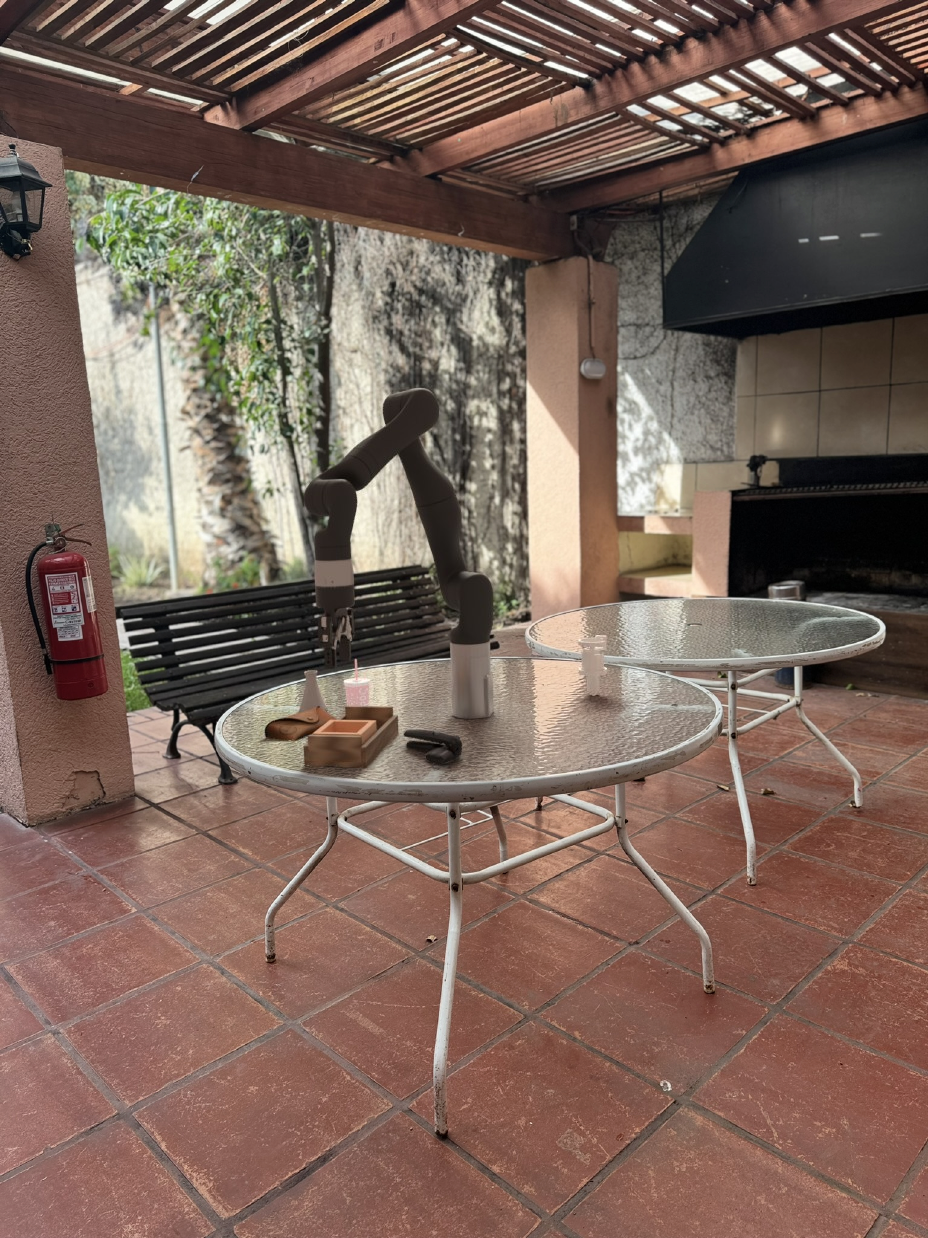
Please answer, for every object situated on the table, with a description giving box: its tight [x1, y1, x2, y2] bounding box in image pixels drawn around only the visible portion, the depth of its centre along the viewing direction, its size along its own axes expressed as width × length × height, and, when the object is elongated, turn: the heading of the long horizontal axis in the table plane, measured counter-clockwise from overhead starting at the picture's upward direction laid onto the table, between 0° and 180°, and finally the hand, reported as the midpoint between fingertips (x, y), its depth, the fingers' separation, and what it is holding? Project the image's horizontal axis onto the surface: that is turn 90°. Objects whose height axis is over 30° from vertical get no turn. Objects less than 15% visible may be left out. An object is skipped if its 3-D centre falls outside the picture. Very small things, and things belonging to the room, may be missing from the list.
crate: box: [312, 720, 377, 745], centre depth 178 cm, size 10×10×5 cm
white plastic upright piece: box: [577, 634, 608, 692], centre depth 222 cm, size 7×7×15 cm
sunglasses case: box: [264, 706, 338, 742], centre depth 200 cm, size 18×7×7 cm
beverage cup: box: [343, 658, 371, 706], centre depth 207 cm, size 6×6×14 cm
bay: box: [303, 705, 399, 769], centre depth 183 cm, size 12×24×6 cm, turn 169°
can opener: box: [403, 729, 463, 766], centre depth 177 cm, size 18×7×6 cm, turn 36°
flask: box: [298, 670, 329, 713], centre depth 215 cm, size 7×7×10 cm
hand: (338, 664), depth 177 cm, fingers open, 8 cm apart
